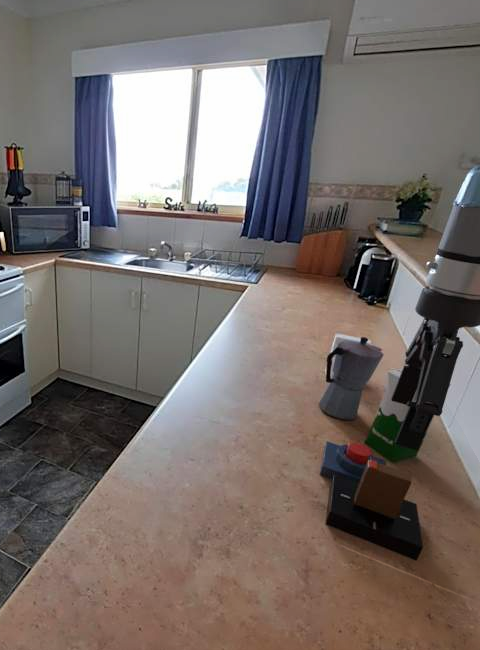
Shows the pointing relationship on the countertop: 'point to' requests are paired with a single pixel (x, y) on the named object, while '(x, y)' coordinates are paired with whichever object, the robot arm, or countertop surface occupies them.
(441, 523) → the countertop surface
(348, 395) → the moka pot
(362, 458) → the button
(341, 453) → the button block
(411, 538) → the panel
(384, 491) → the handle
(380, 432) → the milk carton
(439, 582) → the countertop surface
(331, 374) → the light grey piece
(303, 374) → the countertop surface
